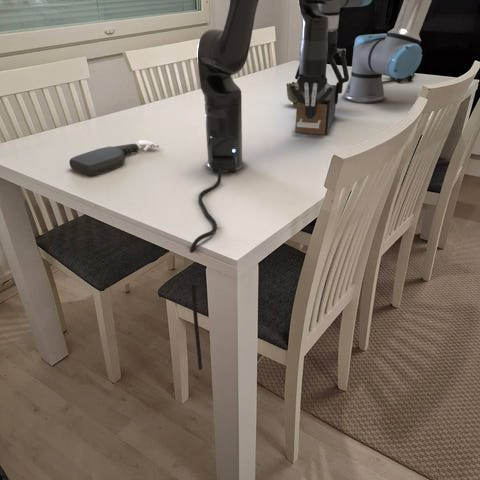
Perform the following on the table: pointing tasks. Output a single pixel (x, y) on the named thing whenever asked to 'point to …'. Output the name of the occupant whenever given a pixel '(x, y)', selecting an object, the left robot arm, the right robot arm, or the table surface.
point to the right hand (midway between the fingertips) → (319, 102)
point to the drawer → (311, 120)
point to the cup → (292, 95)
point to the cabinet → (330, 107)
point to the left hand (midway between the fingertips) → (309, 117)
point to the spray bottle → (106, 157)
